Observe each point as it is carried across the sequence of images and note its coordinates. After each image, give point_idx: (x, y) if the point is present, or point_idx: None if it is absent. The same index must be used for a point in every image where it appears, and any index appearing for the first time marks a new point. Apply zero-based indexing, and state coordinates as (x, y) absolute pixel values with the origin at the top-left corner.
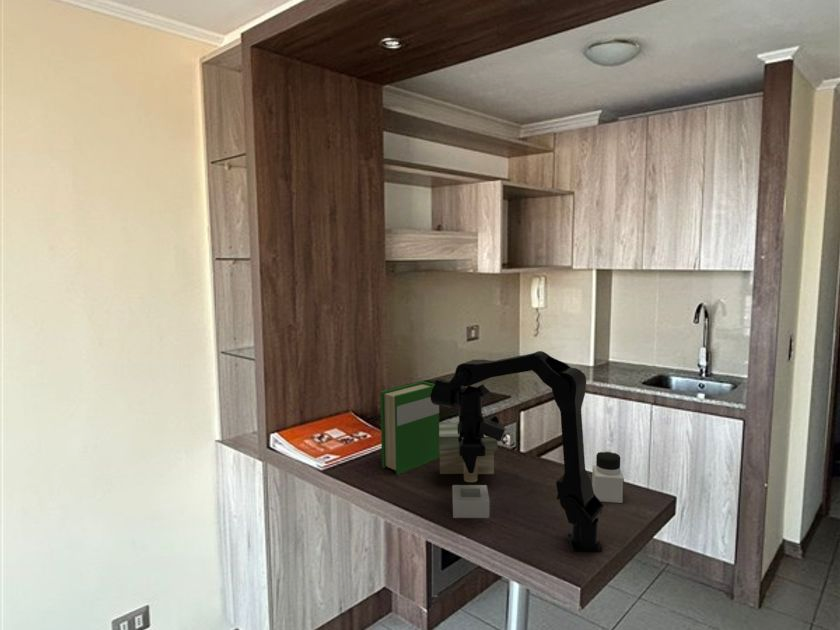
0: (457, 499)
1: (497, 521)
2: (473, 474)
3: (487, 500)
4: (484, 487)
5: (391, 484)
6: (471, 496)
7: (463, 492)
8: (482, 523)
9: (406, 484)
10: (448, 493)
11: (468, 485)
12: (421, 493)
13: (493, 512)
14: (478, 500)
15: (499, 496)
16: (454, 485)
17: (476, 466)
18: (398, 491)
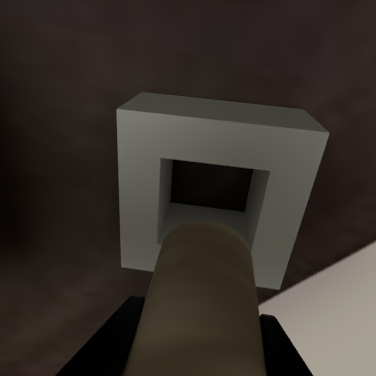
0: (271, 272)
1: (342, 75)
2: (254, 293)
3: (318, 142)
4: (147, 127)
5: (41, 350)
6: (166, 178)
7: (161, 220)
8: (339, 146)
9: (34, 322)
10: (79, 226)
11: (123, 204)
12: (88, 297)
13: (252, 78)
14: (306, 189)
15: (85, 11)
16: (125, 260)
17: (244, 327)
18: (82, 342)
